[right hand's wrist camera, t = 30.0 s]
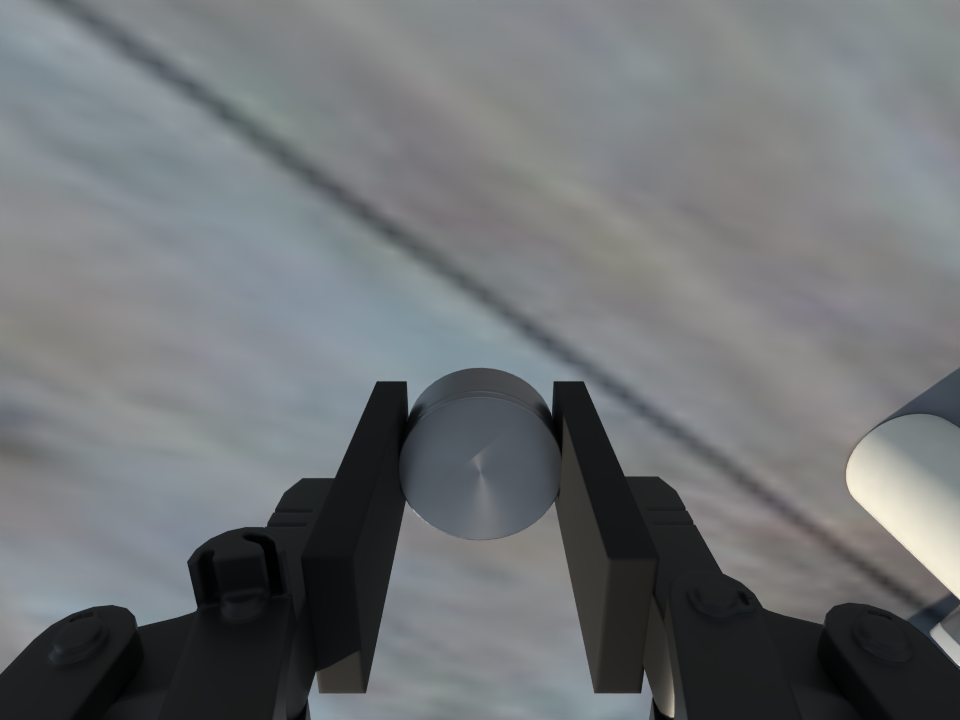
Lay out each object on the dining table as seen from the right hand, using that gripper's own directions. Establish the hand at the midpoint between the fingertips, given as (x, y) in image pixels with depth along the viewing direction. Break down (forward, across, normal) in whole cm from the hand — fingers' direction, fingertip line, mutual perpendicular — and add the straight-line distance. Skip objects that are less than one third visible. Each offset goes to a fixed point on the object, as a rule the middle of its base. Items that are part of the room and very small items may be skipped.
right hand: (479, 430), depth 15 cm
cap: (-2, 0, 0) cm, 2 cm away
